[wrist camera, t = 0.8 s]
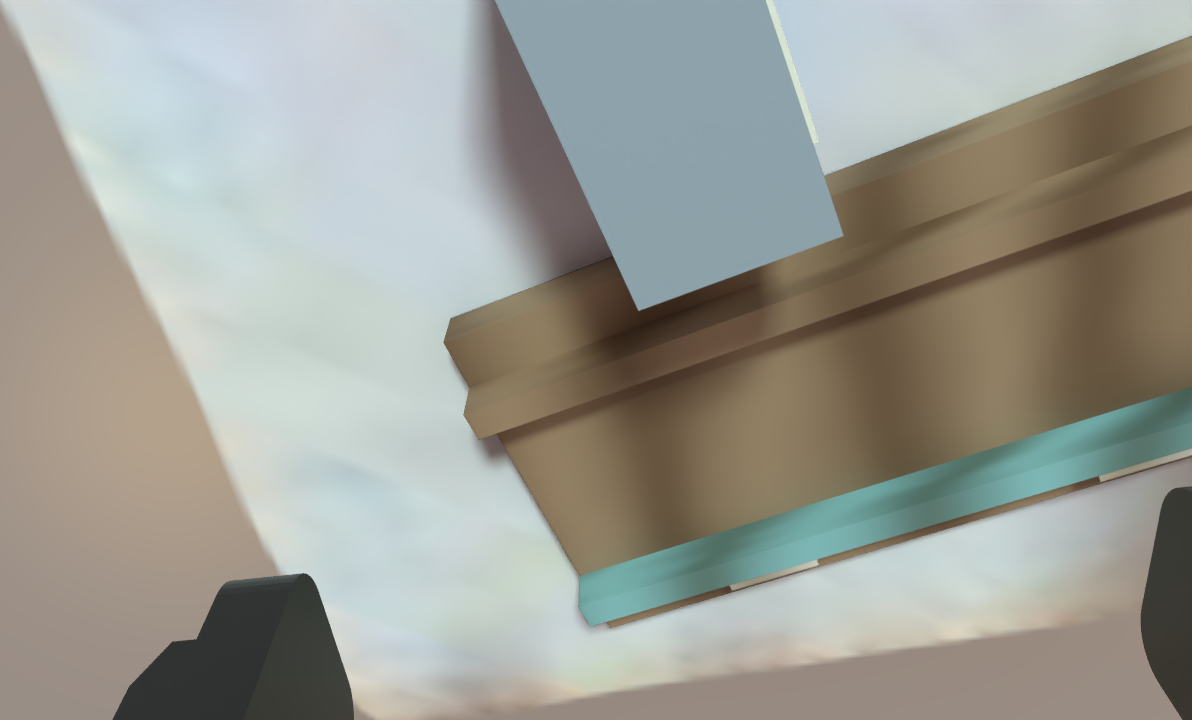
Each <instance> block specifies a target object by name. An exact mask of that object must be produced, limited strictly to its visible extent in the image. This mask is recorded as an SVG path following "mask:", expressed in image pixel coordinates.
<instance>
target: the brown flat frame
mask: <svg viewBox="0 0 1192 720" xmlns="http://www.w3.org/2000/svg"><path fill="white" fill-rule="evenodd" d="M824 178H825V181H826V184H827V187H828V190H829V193H830V196H831V199H832V202H833V205H834V208H835V211H836V214H837V217H838V220H839V223H840V226H841V229H842V232H843V235H844V236H842V237H839V238H837V239H834V240H831V241H828V242H826V243H823V244H820V245H817V246H815V247H812V248H809V249H807V250H804V251H801V252H798V253H796V254H793V255H790V256H787V257H785V258H782V259H779V260H776V261H774V262H771V263H768V264H766V265H763V266H760V267H757V268H755V269H752V270H749V271H746V272H744V273H741V274H738V275H735V276H733V277H730V278H727V279H725V280H722V281H719V282H716V283H714V284H711V285H708V286H705V287H703V288H700V289H697V290H694V291H692V292H689V293H686V294H684V295H681V296H678V297H675V298H673V299H670V300H667V301H664V302H662V303H659V304H656V305H653V306H651V307H648V308H645V309H643V310H640V311H638V309H637V307H636V304H635V302H634V300H633V298H632V296H631V294H630V291H629V289H628V287H627V285H626V283H625V281H624V278H623V276H622V274H621V272H620V270H619V268H618V266H617V263H616V261H615V259H614V257H611V258H608V259H606V260H603V261H600V262H598V263H595V264H592V265H590V266H587V267H585V268H582V269H579V270H577V271H574V272H571V273H569V274H566V275H564V276H561V277H558V278H556V279H553V280H551V281H548V282H545V283H543V284H540V285H537V286H535V287H532V288H530V289H527V290H524V291H522V292H519V293H516V294H514V295H511V296H509V297H506V298H503V299H501V300H498V301H495V302H493V303H490V304H488V305H485V306H482V307H480V308H477V309H474V310H472V311H469V312H467V313H464V314H461V315H459V316H456V317H454V318H451V319H450V322H449V325H448V329H447V332H446V336H445V339H444V344H445V346H446V348H447V350H448V351H449V353H450V355H451V356H452V358H453V360H454V361H455V363H456V365H457V367H458V368H459V370H460V372H461V373H462V375H463V377H464V379H465V380H466V382H467V384H468V385H469V387H470V388H469V393H468V397H467V401H466V406H465V410H464V414H463V415H464V417H465V418H466V420H467V422H468V423H469V425H470V427H471V428H472V430H473V432H474V433H475V435H476V437H477V438H478V440H480V439H483V438H485V437H488V436H491V435H494V434H497V435H498V437H499V438H500V440H501V442H502V444H503V445H504V447H505V449H506V450H507V452H508V454H509V456H510V457H511V459H512V461H513V462H514V464H515V466H516V468H517V469H518V471H519V473H520V474H521V476H522V478H523V480H524V481H525V483H526V485H527V486H528V488H529V490H530V491H531V493H532V495H533V497H534V498H535V500H536V502H537V503H538V505H539V507H540V509H541V510H542V512H543V514H544V515H545V517H546V519H547V521H548V522H549V524H550V526H551V527H552V529H553V531H554V533H555V534H556V536H557V538H558V539H559V541H560V543H561V545H562V546H563V548H564V550H565V551H566V553H567V555H568V556H569V558H570V560H571V562H572V563H573V565H574V567H575V568H576V570H577V572H578V574H579V575H580V583H579V605H578V607H579V609H580V610H581V612H582V614H583V615H584V617H585V619H586V620H587V622H588V624H589V626H590V627H591V626H594V625H597V624H601V623H604V622H607V623H608V625H609V627H610V628H612V627H616V626H619V625H622V624H626V623H629V622H632V621H636V620H639V619H643V618H646V617H649V616H653V615H656V614H660V613H663V612H666V611H670V610H673V609H677V608H680V607H683V606H687V605H690V604H694V603H697V602H700V601H704V600H707V599H711V598H714V597H717V596H721V595H724V594H728V593H731V592H734V591H738V590H741V589H745V588H748V587H751V586H755V585H758V584H762V583H765V582H768V581H772V580H775V579H778V578H782V577H785V576H789V575H792V574H795V573H799V572H802V571H806V570H809V569H812V568H816V567H819V566H823V565H826V564H829V563H833V562H836V561H840V560H843V559H846V558H850V557H853V556H857V555H860V554H863V553H867V552H870V551H874V550H877V549H880V548H884V547H887V546H891V545H894V544H897V543H901V542H904V541H907V540H911V539H914V538H918V537H921V536H924V535H928V534H931V533H935V532H938V531H941V530H945V529H948V528H952V527H955V526H958V525H962V524H965V523H969V522H972V521H975V520H979V519H982V518H986V517H989V516H992V515H996V514H999V513H1003V512H1006V511H1009V510H1013V509H1016V508H1020V507H1023V506H1026V505H1030V504H1033V503H1037V502H1040V501H1043V500H1047V499H1050V498H1053V497H1057V496H1060V495H1064V494H1067V493H1070V492H1074V491H1077V490H1081V489H1084V488H1087V487H1091V486H1094V485H1098V484H1101V483H1104V482H1108V481H1111V480H1115V479H1118V478H1121V477H1125V476H1128V475H1132V474H1135V473H1138V472H1142V471H1145V470H1149V469H1152V468H1155V467H1159V466H1162V465H1166V464H1169V463H1172V462H1176V461H1179V460H1182V459H1186V458H1189V457H1192V36H1190V37H1187V38H1185V39H1182V40H1180V41H1177V42H1174V43H1172V44H1169V45H1166V46H1164V47H1161V48H1159V49H1156V50H1153V51H1151V52H1148V53H1146V54H1143V55H1140V56H1138V57H1135V58H1132V59H1130V60H1127V61H1125V62H1122V63H1119V64H1117V65H1114V66H1111V67H1109V68H1106V69H1104V70H1101V71H1098V72H1096V73H1093V74H1090V75H1088V76H1085V77H1083V78H1080V79H1077V80H1075V81H1072V82H1069V83H1067V84H1064V85H1062V86H1059V87H1056V88H1054V89H1051V90H1049V91H1046V92H1043V93H1041V94H1038V95H1035V96H1033V97H1030V98H1028V99H1025V100H1022V101H1020V102H1017V103H1014V104H1012V105H1009V106H1007V107H1004V108H1001V109H999V110H996V111H993V112H991V113H988V114H986V115H983V116H980V117H978V118H975V119H973V120H970V121H967V122H965V123H962V124H959V125H957V126H954V127H952V128H949V129H946V130H944V131H941V132H938V133H936V134H933V135H931V136H928V137H925V138H923V139H920V140H917V141H915V142H912V143H910V144H907V145H904V146H902V147H899V148H896V149H894V150H891V151H889V152H886V153H883V154H881V155H878V156H876V157H873V158H870V159H868V160H865V161H862V162H860V163H857V164H855V165H852V166H849V167H847V168H844V169H841V170H839V171H836V172H834V173H831V174H828V175H826V176H824Z"/></svg>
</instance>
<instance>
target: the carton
mask: <svg viewBox="0 0 1192 720" xmlns="http://www.w3.org/2000/svg"><path fill="white" fill-rule="evenodd" d="M495 2H496V4H497V6H498V8H499V11H500V13H501V15H502V17H503V19H504V21H505V23H506V26H507V28H508V30H509V32H510V34H511V36H512V39H513V41H514V43H515V45H516V47H517V49H518V52H519V54H520V56H521V58H522V60H523V62H524V65H525V67H526V69H527V71H528V73H529V75H530V78H531V80H532V82H533V84H534V86H535V88H536V90H537V93H538V95H539V97H540V99H541V101H542V103H543V106H544V108H545V110H546V112H547V114H548V116H549V119H550V121H551V123H552V125H553V127H554V129H555V132H556V134H557V136H558V138H559V140H560V142H561V145H562V147H563V149H564V151H565V153H566V155H567V157H568V160H569V162H570V164H571V166H572V168H573V170H574V173H575V175H576V177H577V179H578V181H579V183H580V186H581V188H582V190H583V192H584V194H585V196H586V199H587V201H588V203H589V205H590V207H591V209H592V212H593V214H594V216H595V218H596V220H597V222H598V224H599V227H600V229H601V231H602V233H603V235H604V237H605V240H606V242H607V244H608V246H609V248H610V250H611V253H612V255H613V257H614V259H615V261H616V263H617V266H618V268H619V270H620V272H621V274H622V276H623V278H624V281H625V283H626V285H627V287H628V289H629V291H630V294H631V296H632V298H633V300H634V302H635V304H636V307H637V309H638V311H640V310H643V309H645V308H648V307H651V306H653V305H656V304H659V303H662V302H664V301H667V300H670V299H673V298H675V297H678V296H681V295H684V294H686V293H689V292H692V291H694V290H697V289H700V288H703V287H705V286H708V285H711V284H714V283H716V282H719V281H722V280H725V279H727V278H730V277H733V276H735V275H738V274H741V273H744V272H746V271H749V270H752V269H755V268H757V267H760V266H763V265H766V264H768V263H771V262H774V261H776V260H779V259H782V258H785V257H787V256H790V255H793V254H796V253H798V252H801V251H804V250H807V249H809V248H812V247H815V246H817V245H820V244H823V243H826V242H828V241H831V240H834V239H837V238H839V237H842V236H844V235H843V232H842V229H841V226H840V223H839V220H838V217H837V214H836V211H835V208H834V205H833V202H832V199H831V196H830V193H829V190H828V187H827V184H826V181H825V178H824V175H823V172H822V169H821V166H820V163H819V160H818V157H817V154H816V151H815V148H814V145H813V144H815V143H818V142H819V140H818V136H817V133H816V130H815V127H814V124H813V121H812V118H811V115H810V112H809V109H808V106H807V103H806V100H805V97H804V94H803V91H802V88H801V85H800V82H799V78H798V75H797V72H796V69H795V66H794V63H793V60H792V57H791V54H790V51H789V48H788V45H787V42H786V39H785V36H784V33H783V30H782V27H781V24H780V21H779V17H778V14H777V11H776V8H775V5H774V2H773V0H495Z"/></svg>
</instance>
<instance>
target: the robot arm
mask: <svg viewBox="0 0 1192 720" xmlns="http://www.w3.org/2000/svg"><path fill="white" fill-rule="evenodd" d="M1141 632H1142V638H1143V644H1144V648H1145V652H1146V655H1147V659H1148V661H1149V664H1150V666H1151V669H1152V671H1153V673H1154V675H1155V677H1156V679H1157V681H1158V682H1159V684H1160V686H1161V687H1162V689H1163V690H1164V692H1165V693H1166V695H1167V696H1168V698H1169V699H1170V701H1171V703H1172V704H1173V706H1174V707H1175V709H1176V710H1177V712H1178V713H1179V715H1180V716H1181V718H1182V720H1192V486H1191V487H1181V488H1175V489H1173V490H1171V491H1170V492H1169V493H1168V494H1167V495H1166V497H1165V499H1164V501H1163V504H1162V507H1161V512H1160V517H1159V522H1158V527H1157V532H1156V537H1155V542H1154V547H1153V553H1152V558H1151V563H1150V568H1149V573H1148V578H1147V583H1146V589H1145V594H1144V599H1143V604H1142V610H1141ZM113 720H354V711H353V700H352V694H351V689H350V685H349V681H348V678H347V675H346V672H345V669H344V666H343V663H342V660H341V657H340V654H339V651H338V648H337V645H336V642H335V639H334V636H333V633H332V630H331V627H330V624H329V621H328V618H327V615H326V612H325V609H324V606H323V603H322V600H321V598H320V595H319V592H318V589H317V586H316V584H315V582H314V581H313V579H312V578H311V577H310V576H309V575H308V574H304V573H303V574H293V575H283V576H273V577H263V578H253V579H244V580H233V581H229V582H226V583H225V584H224V585H223V586H222V587H221V589H220V590H219V592H218V593H217V595H216V598H215V600H214V602H213V604H212V606H211V609H210V611H209V613H208V615H207V617H206V620H205V622H204V624H203V626H202V628H201V631H200V633H199V635H198V637H197V639H196V640H186V641H176V642H172V643H171V644H170V645H169V646H168V647H167V648H166V649H165V650H164V651H163V652H162V653H161V654H160V655H159V656H158V657H157V658H156V659H155V660H154V661H153V662H152V664H151V665H149V667H148V668H147V669H146V670H145V671H144V672H143V673H142V674H141V675H140V676H139V677H138V678H137V679H136V680H135V681H134V682H133V683H132V684H131V685H130V686H129V688H128V690H127V692H126V694H125V696H124V698H123V700H122V702H121V704H120V706H119V708H118V710H117V712H116V714H115V716H114V718H113Z"/></svg>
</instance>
